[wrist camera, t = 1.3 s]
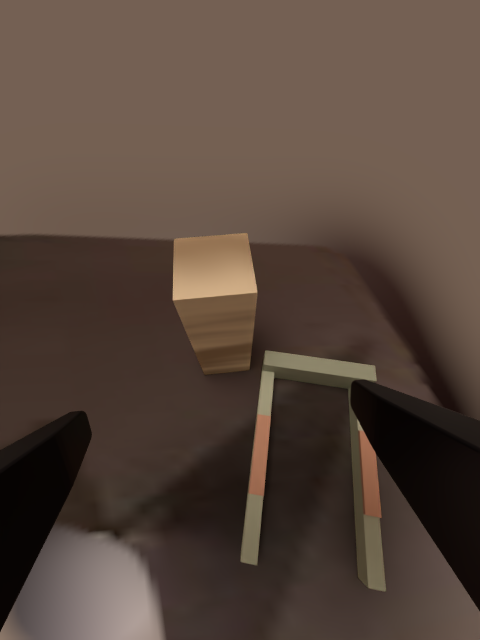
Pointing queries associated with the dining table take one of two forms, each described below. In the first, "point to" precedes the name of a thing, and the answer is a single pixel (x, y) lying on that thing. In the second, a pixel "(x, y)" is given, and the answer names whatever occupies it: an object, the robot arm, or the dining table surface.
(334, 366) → the sage rail
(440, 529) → the robot arm
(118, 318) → the dining table surface
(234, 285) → the birch finger
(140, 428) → the dining table surface
